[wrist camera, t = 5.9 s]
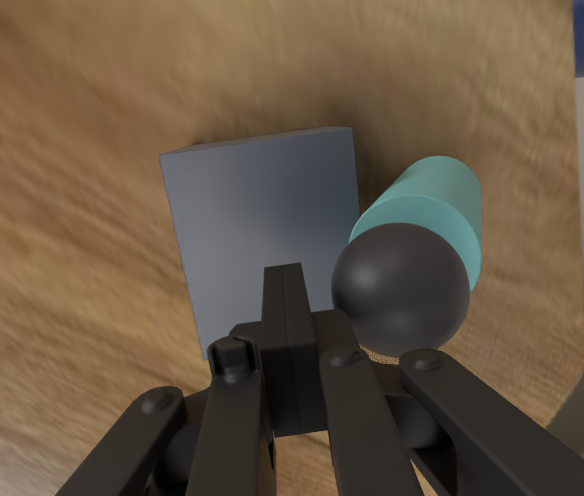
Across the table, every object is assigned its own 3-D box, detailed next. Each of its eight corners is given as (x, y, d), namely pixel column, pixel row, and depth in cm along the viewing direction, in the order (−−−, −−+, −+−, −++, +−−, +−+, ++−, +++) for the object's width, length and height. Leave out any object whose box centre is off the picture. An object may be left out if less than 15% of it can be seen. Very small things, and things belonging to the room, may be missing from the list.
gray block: (329, 125, 31) (352, 127, 22) (345, 281, 34) (371, 336, 25) (190, 145, 30) (157, 154, 22) (220, 299, 34) (203, 360, 25)
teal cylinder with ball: (465, 149, 31) (722, 188, 13) (466, 228, 33) (695, 357, 15) (299, 172, 31) (332, 243, 13) (309, 250, 33) (350, 405, 15)
